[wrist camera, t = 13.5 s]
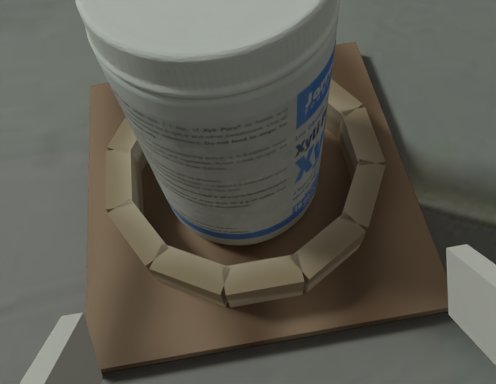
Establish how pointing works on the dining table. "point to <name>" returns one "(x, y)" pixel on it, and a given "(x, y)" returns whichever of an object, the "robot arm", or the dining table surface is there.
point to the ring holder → (256, 245)
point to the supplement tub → (223, 103)
